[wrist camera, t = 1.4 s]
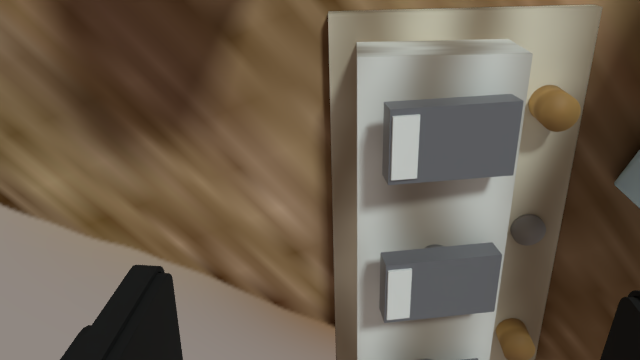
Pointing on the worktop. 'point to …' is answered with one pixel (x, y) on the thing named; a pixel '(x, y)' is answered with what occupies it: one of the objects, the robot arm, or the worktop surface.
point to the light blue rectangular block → (631, 180)
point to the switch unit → (453, 195)
